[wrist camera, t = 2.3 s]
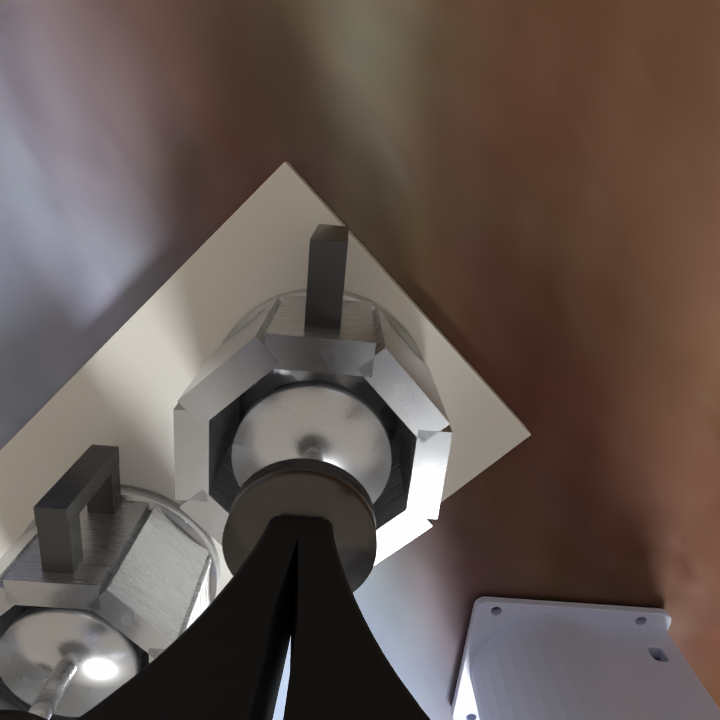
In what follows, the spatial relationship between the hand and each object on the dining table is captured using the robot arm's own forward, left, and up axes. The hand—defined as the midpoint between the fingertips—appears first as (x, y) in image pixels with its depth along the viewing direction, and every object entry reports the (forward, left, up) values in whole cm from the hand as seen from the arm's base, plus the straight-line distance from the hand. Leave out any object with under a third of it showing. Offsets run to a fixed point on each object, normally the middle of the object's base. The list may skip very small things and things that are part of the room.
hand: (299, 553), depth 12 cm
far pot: (+8, +8, -9) cm, 14 cm away
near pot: (0, -1, -9) cm, 9 cm away
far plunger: (+8, +9, -5) cm, 13 cm away
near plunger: (0, 0, -5) cm, 5 cm away
